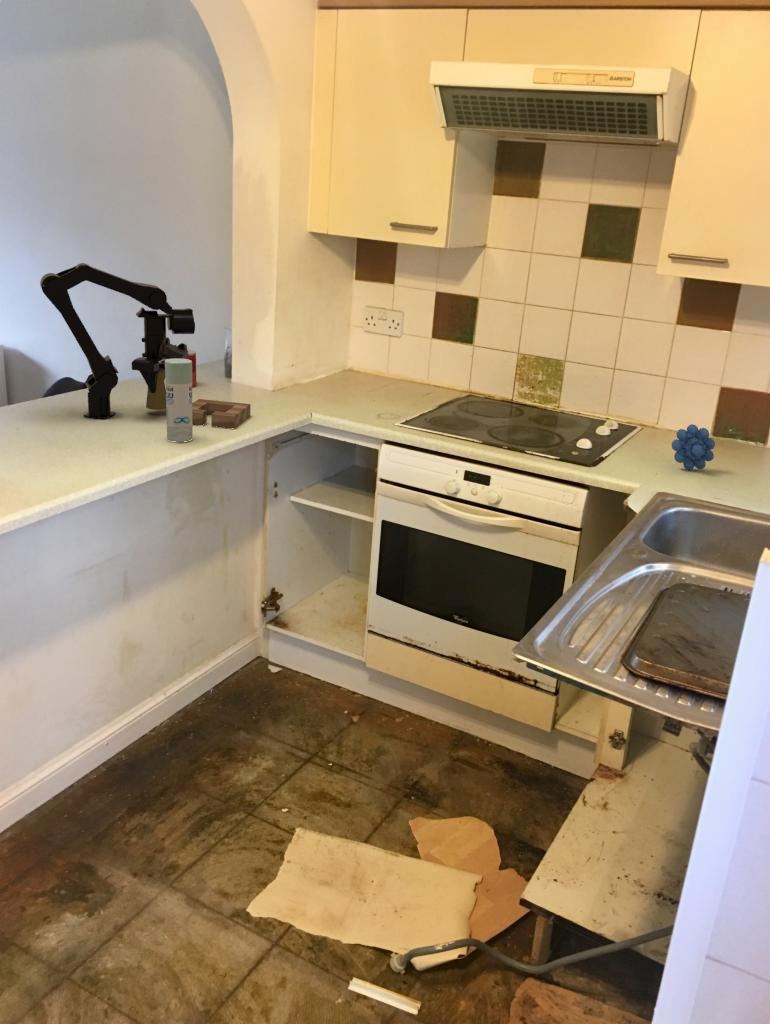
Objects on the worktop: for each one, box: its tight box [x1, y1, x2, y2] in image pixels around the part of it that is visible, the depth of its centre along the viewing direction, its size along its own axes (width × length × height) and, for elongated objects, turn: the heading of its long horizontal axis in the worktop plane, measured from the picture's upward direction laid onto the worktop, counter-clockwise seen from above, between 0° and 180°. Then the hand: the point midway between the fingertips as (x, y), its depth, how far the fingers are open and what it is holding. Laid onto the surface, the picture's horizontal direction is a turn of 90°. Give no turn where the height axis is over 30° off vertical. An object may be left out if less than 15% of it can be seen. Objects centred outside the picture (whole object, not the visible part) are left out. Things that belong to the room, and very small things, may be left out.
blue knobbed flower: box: [671, 423, 716, 471], centre depth 221 cm, size 12×7×12 cm, turn 95°
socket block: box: [192, 398, 251, 429], centre depth 239 cm, size 15×15×4 cm
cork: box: [145, 368, 166, 411], centre depth 239 cm, size 6×6×11 cm
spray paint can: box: [164, 358, 193, 442], centre depth 216 cm, size 6×6×20 cm
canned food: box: [186, 348, 197, 388], centre depth 274 cm, size 8×8×11 cm
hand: (156, 391), depth 240 cm, fingers closed on cork, 4 cm apart
